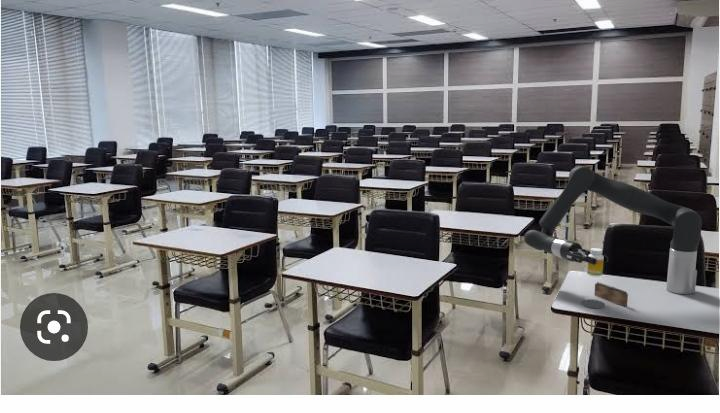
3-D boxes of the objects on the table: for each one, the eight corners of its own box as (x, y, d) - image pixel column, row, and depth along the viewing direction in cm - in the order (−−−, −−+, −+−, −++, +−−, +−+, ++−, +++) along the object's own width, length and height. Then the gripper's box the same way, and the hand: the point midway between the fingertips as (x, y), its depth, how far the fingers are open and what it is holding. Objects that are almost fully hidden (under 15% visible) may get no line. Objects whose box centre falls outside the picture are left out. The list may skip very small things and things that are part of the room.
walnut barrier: (594, 295, 214) (595, 281, 213) (596, 295, 215) (597, 281, 214) (625, 307, 202) (626, 292, 201) (627, 306, 202) (628, 291, 201)
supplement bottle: (603, 277, 199) (606, 251, 197) (588, 276, 200) (590, 251, 199) (600, 272, 205) (602, 247, 203) (585, 271, 206) (587, 247, 204)
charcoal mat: (602, 301, 207) (603, 300, 207) (606, 309, 200) (607, 307, 200) (580, 300, 209) (580, 298, 209) (583, 307, 202) (583, 306, 201)
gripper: (553, 242, 210) (588, 253, 195) (580, 238, 216) (616, 248, 201) (552, 261, 212) (586, 273, 197) (579, 256, 218) (614, 267, 203)
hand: (601, 260), depth 199 cm, fingers closed on supplement bottle, 5 cm apart
